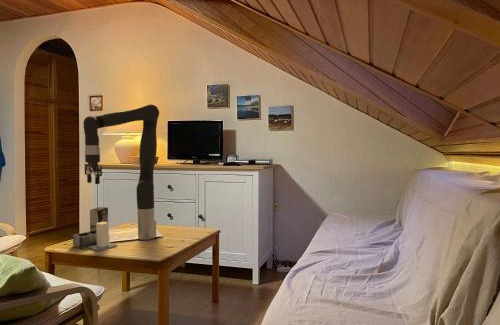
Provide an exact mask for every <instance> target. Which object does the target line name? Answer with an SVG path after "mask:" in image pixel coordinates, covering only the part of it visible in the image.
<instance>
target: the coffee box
mask: <svg viewBox="0 0 500 325" xmlns="http://www.w3.org/2000/svg"><path fill="white" fill-rule="evenodd" d="M100 222H107V223H109V208H108V207H106V206H105V207H103V206H102V207H99V206H98V207H96V208H95V207H94V208H92V209H89V231H94V230H96V223H100Z"/></svg>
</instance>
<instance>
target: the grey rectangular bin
mask: <svg viewBox="0 0 500 325" xmlns="http://www.w3.org/2000/svg"><path fill="white" fill-rule="evenodd" d="M93 245H97V233H96V230H94V231H90V230H89V231H84V232H81V233H80V232H79V233H76V234H72V246H73V247H75V248H77V249H80V250H82V249H87V248H89V246H93Z"/></svg>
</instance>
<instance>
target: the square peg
mask: <svg viewBox="0 0 500 325" xmlns="http://www.w3.org/2000/svg"><path fill="white" fill-rule="evenodd" d="M109 228H110V226H109V222H108V223H107V222H100V223H96V233H97V246H99V247H105V246H109V242H110V233H109V232H110V231H109Z"/></svg>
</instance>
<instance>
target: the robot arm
mask: <svg viewBox="0 0 500 325" xmlns="http://www.w3.org/2000/svg"><path fill="white" fill-rule="evenodd" d="M159 117H160V111H159V108H158V106H157V105H155V104H152V103H151V104H149V103H148V104H146V105H144V106H141V107H139V108H135V109H131V110H124V111H115V112H109V113H105V114H103V115H102V114H101V115H97V116H96V115H94V116H93V115H89V116H87V117H85V118H84V120H83V132H84V161H85V163H84V175H86V178H87V179H86V181H87V183H88V184H90V183H92V181H93V180H92V179H93V178H92V174H93V175H94V184H95V185H100V183H101V182H100V177H102V176H103V168H102V164H99V163H100V162H101V149H100V137H99V134H98V133H99V131H98V129H103V128H107V127H108V128H109V127H115V126H121V125H124V124H127V123H128V124H129V123H132V122H138V121H140V122H141V121H142V133H141V137H140V144H139V154H138V155H139V156H138V157H139V169H140V170H139V178H138V183H137V185H136V208H137V210H136V211H137V212H136V213H137V239H138V240H141V241H146V240H147V241H148V240H152V239H155V238H156V237H157V220H156V219H155V185H154V169H155V164H156V158H157V150H158V149H157V147H158V146H157V145H158V144H157V142H158V141H157V125H158V119H159Z"/></svg>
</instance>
